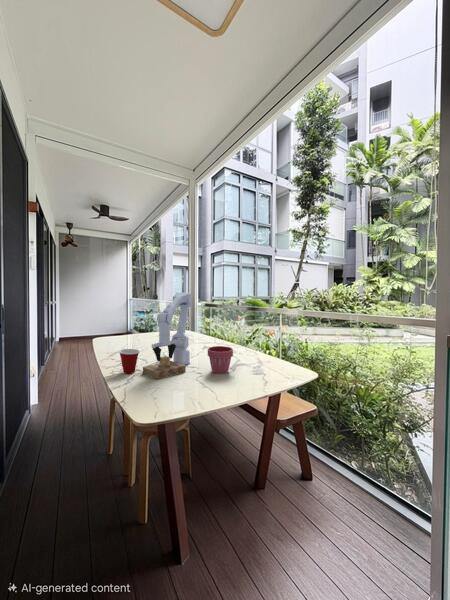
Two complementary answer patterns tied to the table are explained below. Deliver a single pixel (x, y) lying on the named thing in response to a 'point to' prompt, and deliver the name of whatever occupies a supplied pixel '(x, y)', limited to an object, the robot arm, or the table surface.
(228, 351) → the plant pot
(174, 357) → the robot arm
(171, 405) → the table surface
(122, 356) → the plastic cup
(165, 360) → the oak peg
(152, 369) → the walnut socket block
